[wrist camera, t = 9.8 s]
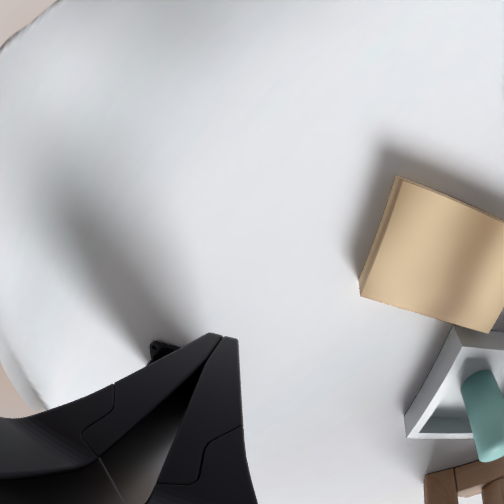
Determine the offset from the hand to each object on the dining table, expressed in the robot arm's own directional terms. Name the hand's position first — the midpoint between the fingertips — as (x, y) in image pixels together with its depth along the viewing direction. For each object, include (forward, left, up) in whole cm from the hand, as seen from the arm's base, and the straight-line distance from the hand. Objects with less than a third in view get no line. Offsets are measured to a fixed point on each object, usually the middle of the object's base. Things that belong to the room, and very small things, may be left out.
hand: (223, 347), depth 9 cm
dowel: (+18, -10, -11) cm, 23 cm away
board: (+11, 0, -12) cm, 16 cm away
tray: (+18, -10, -12) cm, 24 cm away
